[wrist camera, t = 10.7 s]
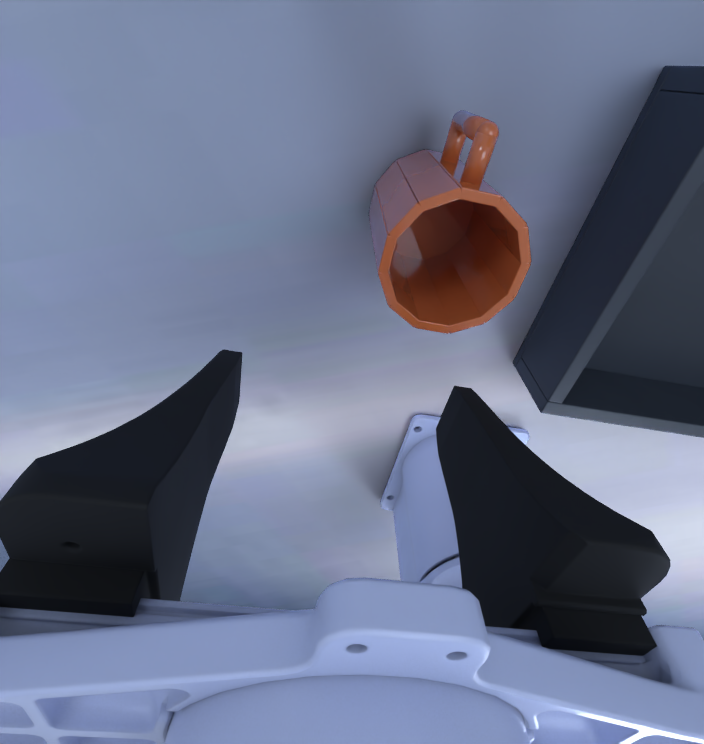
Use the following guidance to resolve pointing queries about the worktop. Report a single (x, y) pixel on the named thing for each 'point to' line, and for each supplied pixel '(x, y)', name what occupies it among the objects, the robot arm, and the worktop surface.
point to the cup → (448, 234)
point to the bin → (634, 282)
